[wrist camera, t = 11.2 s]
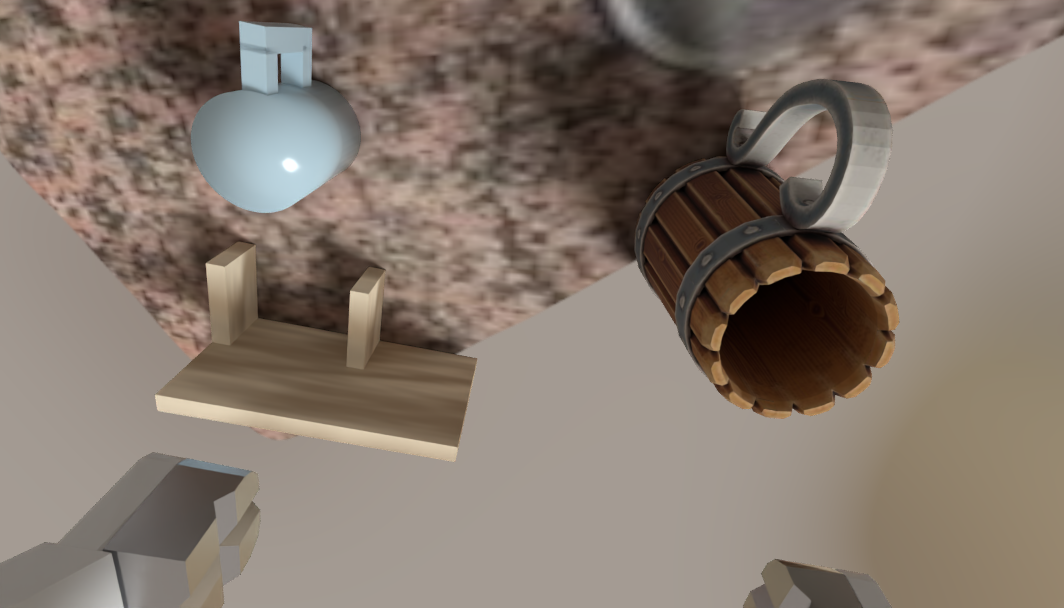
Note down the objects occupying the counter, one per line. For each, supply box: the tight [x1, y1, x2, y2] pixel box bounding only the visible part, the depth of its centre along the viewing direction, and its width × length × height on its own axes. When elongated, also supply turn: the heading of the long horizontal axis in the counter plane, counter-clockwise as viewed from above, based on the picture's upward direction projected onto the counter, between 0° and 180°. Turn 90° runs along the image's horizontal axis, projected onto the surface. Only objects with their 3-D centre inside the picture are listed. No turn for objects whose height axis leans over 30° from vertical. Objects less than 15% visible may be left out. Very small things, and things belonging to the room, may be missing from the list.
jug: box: [191, 21, 361, 213], centre depth 30 cm, size 9×6×8 cm, turn 169°
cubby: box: [155, 241, 477, 462], centre depth 36 cm, size 7×18×10 cm, turn 79°
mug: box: [635, 79, 899, 419], centre depth 29 cm, size 16×11×15 cm
